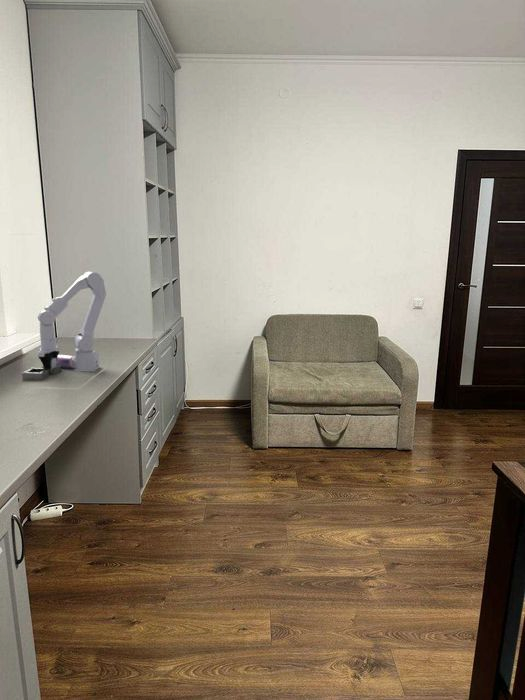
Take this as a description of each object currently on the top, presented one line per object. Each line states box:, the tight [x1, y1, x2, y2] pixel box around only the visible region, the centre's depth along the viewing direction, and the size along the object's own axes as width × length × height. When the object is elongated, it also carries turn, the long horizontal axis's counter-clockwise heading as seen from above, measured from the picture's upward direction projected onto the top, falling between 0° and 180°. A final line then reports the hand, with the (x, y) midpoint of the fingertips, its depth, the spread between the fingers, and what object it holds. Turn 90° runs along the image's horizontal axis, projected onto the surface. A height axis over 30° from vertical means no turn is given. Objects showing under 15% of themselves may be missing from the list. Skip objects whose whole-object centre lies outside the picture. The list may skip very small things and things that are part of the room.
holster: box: [40, 365, 62, 376], centre depth 209 cm, size 7×7×3 cm
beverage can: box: [56, 354, 76, 370], centre depth 218 cm, size 6×6×15 cm
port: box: [21, 367, 52, 381], centre depth 201 cm, size 8×8×4 cm
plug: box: [42, 357, 57, 374], centre depth 208 cm, size 4×4×7 cm
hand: (50, 369), depth 209 cm, fingers closed on plug, 4 cm apart
